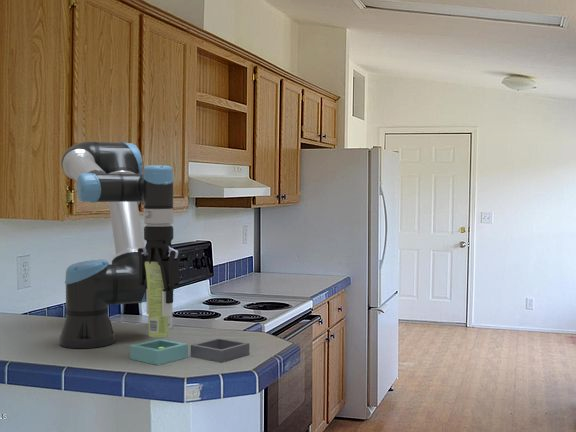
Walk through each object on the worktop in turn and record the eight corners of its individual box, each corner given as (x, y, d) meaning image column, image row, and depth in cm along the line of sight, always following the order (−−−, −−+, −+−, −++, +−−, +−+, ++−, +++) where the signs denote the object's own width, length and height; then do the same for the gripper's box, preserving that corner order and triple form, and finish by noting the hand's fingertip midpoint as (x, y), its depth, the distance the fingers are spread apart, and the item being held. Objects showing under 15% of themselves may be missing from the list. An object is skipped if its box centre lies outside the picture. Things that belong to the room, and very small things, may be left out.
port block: (130, 359, 186) (130, 343, 186) (160, 351, 194) (160, 336, 194) (158, 365, 180) (158, 348, 180) (187, 357, 188) (187, 341, 188)
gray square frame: (190, 356, 189) (190, 344, 189) (218, 348, 198) (218, 337, 198) (221, 362, 183) (221, 350, 183) (249, 354, 192) (249, 343, 191)
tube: (162, 333, 191) (162, 259, 190) (174, 336, 187) (174, 261, 186) (144, 336, 187) (144, 261, 186) (156, 339, 183) (156, 263, 182)
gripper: (124, 224, 188) (124, 312, 189) (172, 227, 177) (173, 320, 178) (145, 223, 194) (146, 309, 195) (194, 225, 183) (194, 316, 184)
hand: (159, 314), depth 187 cm, fingers closed on tube, 5 cm apart
